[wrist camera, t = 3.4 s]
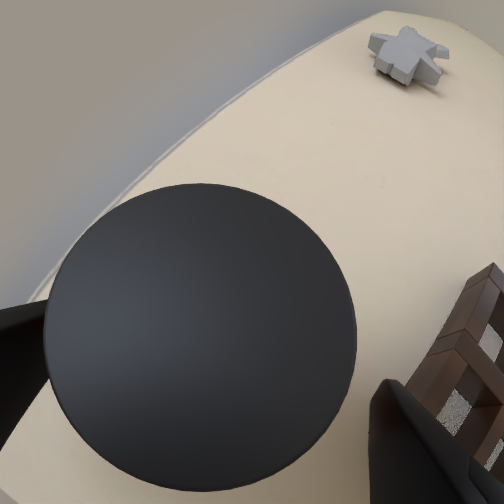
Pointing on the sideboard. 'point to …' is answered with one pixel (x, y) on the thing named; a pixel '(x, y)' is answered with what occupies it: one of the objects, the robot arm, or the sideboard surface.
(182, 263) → the vial
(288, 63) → the sideboard surface
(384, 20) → the sideboard surface
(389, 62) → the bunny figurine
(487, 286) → the rack
